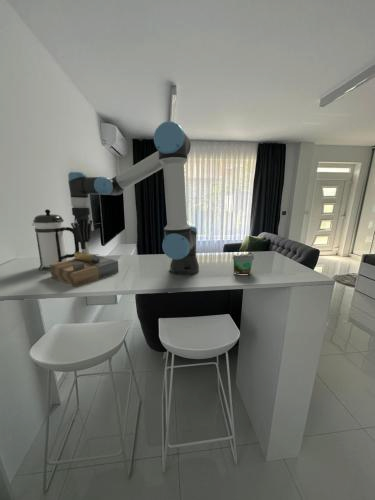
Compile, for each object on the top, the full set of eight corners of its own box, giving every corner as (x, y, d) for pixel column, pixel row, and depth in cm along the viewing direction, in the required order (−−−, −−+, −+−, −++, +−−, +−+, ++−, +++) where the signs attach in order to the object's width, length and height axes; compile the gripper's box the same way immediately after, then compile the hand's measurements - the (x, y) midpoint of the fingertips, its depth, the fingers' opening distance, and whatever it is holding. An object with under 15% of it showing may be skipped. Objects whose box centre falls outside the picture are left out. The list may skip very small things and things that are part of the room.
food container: (240, 278, 101) (242, 258, 98) (231, 274, 106) (232, 255, 103) (257, 273, 107) (259, 254, 105) (248, 270, 112) (249, 252, 110)
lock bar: (101, 261, 101) (101, 254, 101) (95, 263, 98) (94, 256, 97) (80, 257, 107) (79, 251, 107) (73, 259, 104) (72, 252, 103)
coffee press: (45, 274, 101) (36, 210, 94) (33, 267, 110) (24, 209, 103) (81, 265, 114) (75, 209, 107) (68, 260, 124) (61, 208, 117)
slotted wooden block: (118, 272, 105) (117, 255, 103) (75, 286, 87) (72, 267, 85) (94, 265, 116) (93, 249, 114) (51, 276, 98) (49, 258, 96)
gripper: (82, 206, 107) (86, 251, 113) (63, 207, 95) (69, 257, 100) (95, 206, 106) (99, 252, 111) (78, 207, 93) (84, 259, 99)
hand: (85, 254), depth 106 cm, fingers closed
